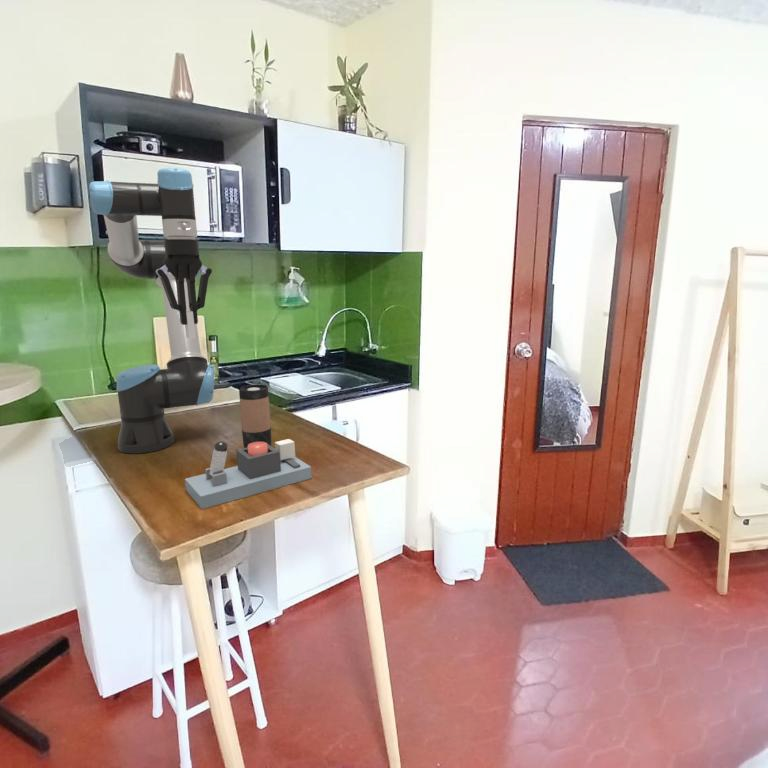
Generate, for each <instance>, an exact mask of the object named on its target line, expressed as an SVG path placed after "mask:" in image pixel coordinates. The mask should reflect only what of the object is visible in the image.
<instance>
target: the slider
mask: <svg viewBox="0 0 768 768" xmlns="http://www.w3.org/2000/svg"><path fill="white" fill-rule="evenodd" d="M295 443H296V442H295V441H294V440H292V439H290V438H287V439H282V440H279V441H275V442H274V448H275V449H276V450H278V451H279V452H280V460H284V459H288V458H292V457H296V445H295Z"/></svg>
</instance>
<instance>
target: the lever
mask: <svg viewBox="0 0 768 768" xmlns="http://www.w3.org/2000/svg"><path fill="white" fill-rule="evenodd" d="M211 456H212V457H211V461H210V465H209V466H210V467H209V468H210V471H209V474H210V475H211V476H212V475H214V474H218V473H222V472H224V469H225V466H226V461H227V457H228V445H227V443H226V442H225V441H217V442H216V443H215V444H214V448H213V451H212V455H211Z"/></svg>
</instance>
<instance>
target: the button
mask: <svg viewBox="0 0 768 768" xmlns="http://www.w3.org/2000/svg"><path fill="white" fill-rule="evenodd" d="M264 453H268V448H267V443H266V442H253V443H250V444H248V454H249V455H250V456H256V455H260V454H264Z"/></svg>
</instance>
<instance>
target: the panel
mask: <svg viewBox="0 0 768 768" xmlns="http://www.w3.org/2000/svg"><path fill="white" fill-rule="evenodd" d="M267 448H268V453H264V454H260V455H256V456H250V455H249V454H248V447H247V448H244V447H243V448H239V449H235V453H236V461H237V464H236V466H232V467H231V466H230V467H228V468H224V472H222V473H218V474H214V475H212V476H211V475H210V474H209V471H210V467H207V468H205V471H204V472H205V473H203V474H202V473H201V474H199V475H194V476H190V477H187V478H184V484H185V485H184V486H185V491H186V492H187V494H188V495H189V496H190V497H191V498H192V500H194V502H195V503H196V504H197V505H198V506H199V508H200V509H201V510H204V509H207V508H211V507H214V506H218V505H221V504H225V503H228V502H229V503H230V502H232V501H236V500H239V499H242V498H247V497H250V496H254V495H257V494H260V493H264V492H267V491H271V490H275V489H278V488H279V489H280V488H283V487H285V486H289V485H292V484H296V483H299V482H303V481H306V480H309V479H312V477H313V476H312V466H311V465H309V464H308V463H306V462H304V461H303V460H301V459H300V458H298V457H296V456H295V457H292V458H288V459H284V460H280V452H279V451H278V450H276V449H275V447H273V446H270V445H269V444H267Z"/></svg>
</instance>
